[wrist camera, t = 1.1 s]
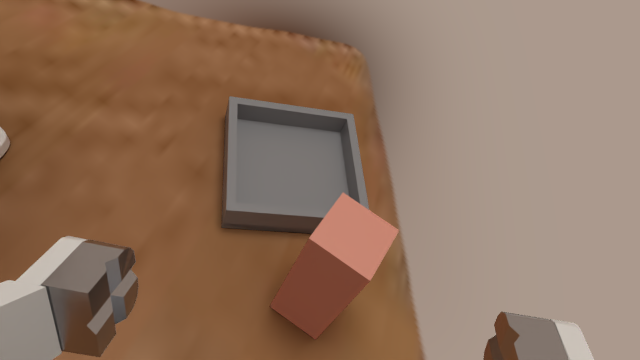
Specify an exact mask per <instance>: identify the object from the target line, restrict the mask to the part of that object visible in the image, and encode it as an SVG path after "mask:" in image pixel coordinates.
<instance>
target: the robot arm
mask: <svg viewBox="0 0 640 360" xmlns="http://www.w3.org/2000/svg"><path fill="white" fill-rule="evenodd" d="M9 145H10V140H9V138H8V136H7V135H6V133H5V131H4V130H3V129H2V128H1V127H0V158H1V157H2V156H3V155H4V154H5V152H6V151H7V150H8V148H9ZM135 262H136V261H135V255H134V250H132V249H131V248H129V247H125V246H119V245H114V244H109V243H104V242H99V241H94V240H86V239H82V238H77V237H72V236H66V237H63V238H61V239H59V240H58V241H57V242H56V243H55V244H54V245H53V246H52V247H51V248H50V249H49V250H48V251H47V252H46V253H45V254H44V255H43V256H41V257H40V258H39V259H38V260H37V261H36V262H35V263H34V264H33V265H32V266H31V267H30V268H29V269H28V270H27V271H26V272H25V273H23V274H22V275H21V276H20V277H19V278H18V279H17V280H16V281H11V280H7V281H5V282H2V283H0V360H52V359H54V358H55V357H57V356H58V355H60V354H61V353H62V352H61V351H65V352H71V353H77V354H83V355H89V356H96V357H101V355H102V354H103V352H104V351H105V349H106V348H107V346H108V345H109V343H110V342H111V340H112V339H113V338H114V336H115V335H116V329H115V324H117V323H119V322H121V321H122V320H124V319H126V318H127V317H128V315H129V314H130V312H131V311H132V309H133V307H134V304H135V301H136V298H137V294H138V278H137V276H136V275H135V274H134V273H133V272H132V270H131V268H132V266H133V265H134V264H135ZM494 326H495V331H496V335H495V336H494V337H492V338H491V339H489V340H488V343H487V346H486V348H485V352H484V360H594V358H593V356H592V354H591V352H590V349H589V347H588V345H587V343H586V340H585V338H584V336H583V334H582V332H581V330H580V327H579V326H578V325H577V324H576V323H572V322H565V321H559V320H552V319H550V320H548V319H543V318H537V317H531V316H525V315H519V314H513V313H507V312H501V313H500V314H499V315H498V317H497V319H496V322H495V324H494Z"/></svg>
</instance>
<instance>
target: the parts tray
mask: <svg viewBox="0 0 640 360" xmlns="http://www.w3.org/2000/svg"><path fill="white" fill-rule="evenodd" d="M342 193H345V194H346V195H348V196H349V197H351V198H352V199H354V200H355V201H357V202H358V203H359V204H361V205H362V206H364V207H365V208H367V209H368V210H369V206H368V200H367V194H366V188H365V182H364V176H363V170H362V164H361V158H360V152H359V146H358V140H357V134H356V128H355V122H354V116H353V114H348V113H341V112H334V111H327V110H320V109H313V108H306V107H299V106H292V105H285V104H278V103H271V102H265V101H258V100H251V99H244V98H237V97H230V96H229V101H228V106H227V111H226V116H225V140H224V170H223V200H222V228H234V229H249V230H265V231H280V232H295V233H310V234H312V233H313V232H314V231H315V229H316V228H317V227H318V225H319V224H320V223H321V221H322V220H323V219H324V217H325V216H326V215H327V213H328V212H329V210H330V209H331V208H332V206H333V205H334V204H335V202H336V201H337V200H338V198H339V197H340V196H341V194H342Z"/></svg>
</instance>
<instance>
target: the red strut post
mask: <svg viewBox="0 0 640 360" xmlns="http://www.w3.org/2000/svg"><path fill="white" fill-rule="evenodd" d="M398 232H399V230H398V229H396V228H395V227H393V226H392V225H390V224H389V223H387V222H386V221H384V220H383V219H381V218H380V217H379V216H377V215H376V214H374V213H373V212H371V211H370V210H368V209H367V208H365V207H364V206H362V205H361V204H359V203H358V202H357V201H355V200H354V199H352V198H351V197H349V196H348V195H346V194H345V193H342V194H341V196H340V197H339V198H338V200H337V201H336V202H335V204H334V205H333V206H332V208H331V209H330V210H329V212H328V213H327V215H326V216H325V217H324V219H323V220H322V221H321V223H320V224H319V225H318V227H317V228H316V229H315V231H314V232H313V233H312V235H311V236H310V238H309V239H308V241H307V243H306V244H305V246H304V248H303V249H302V251H301V253H300V255H299V256H298V258H297V260H296V262H295V263H294V265H293V267H292V268H291V270H290V272H289V274H288V275H287V277H286V279H285V280H284V282H283V284H282V286H281V287H280V289H279V291H278V293H277V294H276V296H275V298H274V299H273V301H272V303H271V305H270V307H271V308H272V309H274V310H275V311H277V312H278V313H279V314H281V315H282V316H283V317H285V318H286V319H288V320H289V321H290V322H292V323H293V324H294V325H296V326H297V327H299V328H300V329H301V330H303V331H304V332H306V333H307V334H308V335H310V336H311V337H312V338H314V339H315V340H316V339H317V338H318V336H319V335H320V334H321V333H322V332H323V331H324V330H325V329H326V328H327V327H328V326H329V325H330V324H331V323H332V321H333V320H334V319H335V318H336V317H337V316H338V315H339V314H340V313H341V312H342V311H343V310H344V309H345V307H346V306H347V305H348V304H349V303H350V302H351V301H352V300H353V299H354V298H355V297H356V296H357V295H358V293H359V292H360V291H361V290H362V289H363V288H364V287H365V286H366V285H367V284H368V283H369V282H370V280H371V279H372V277H373V275H374V273H375V272H376V270H377V268H378V266H379V265H380V263H381V261H382V259H383V258H384V256H385V254H386V253H387V251H388V249H389V247H390V246H391V244H392V242H393V240H394V239H395V237H396V235H397V233H398Z"/></svg>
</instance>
